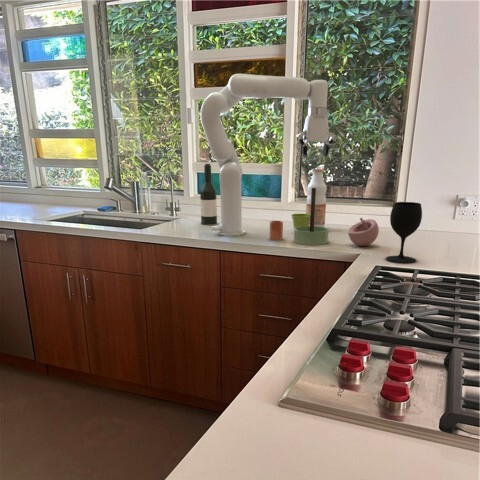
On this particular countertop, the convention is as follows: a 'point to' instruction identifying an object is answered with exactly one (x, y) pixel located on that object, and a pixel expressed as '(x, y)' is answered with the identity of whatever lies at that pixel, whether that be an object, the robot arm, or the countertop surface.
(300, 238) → the bowl
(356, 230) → the mortar and pestle
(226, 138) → the robot arm
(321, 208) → the fruit juice
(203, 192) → the wine bottle
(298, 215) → the plant pot
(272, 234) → the utensil pot
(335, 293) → the countertop surface
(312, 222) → the stick
